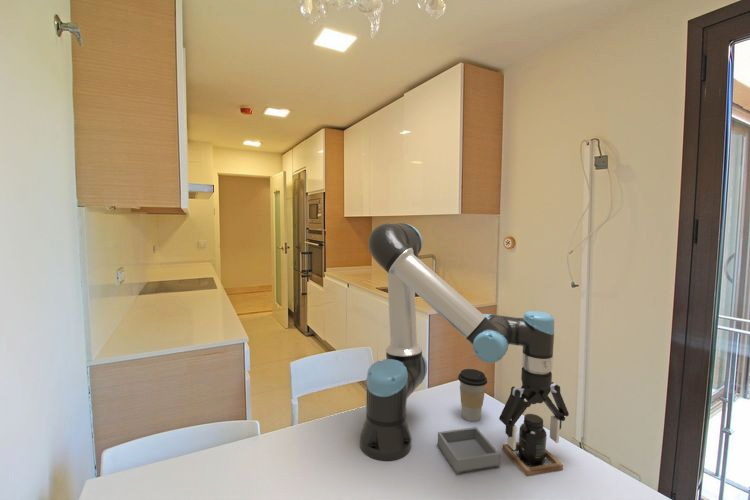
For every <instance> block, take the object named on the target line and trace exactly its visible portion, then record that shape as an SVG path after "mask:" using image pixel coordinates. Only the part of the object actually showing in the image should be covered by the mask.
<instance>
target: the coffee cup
mask: <svg viewBox="0 0 750 500" xmlns="http://www.w3.org/2000/svg"><path fill="white" fill-rule="evenodd" d="M457 379H458V381H459V383H460V384H459V390H460V392H459V393H460V404H461V417H462V418H463V419H464V420H466V421H469V422H478V421H480V419H481V415H482V407H483V404H484V400H485V392H486V385H487V384H488V378H487V377H486V374H485V373H484V372H482V371H481V370H478V369H473V368H466V369H462V370H461V371H460V373H459V374H458V376H457Z"/></svg>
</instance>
